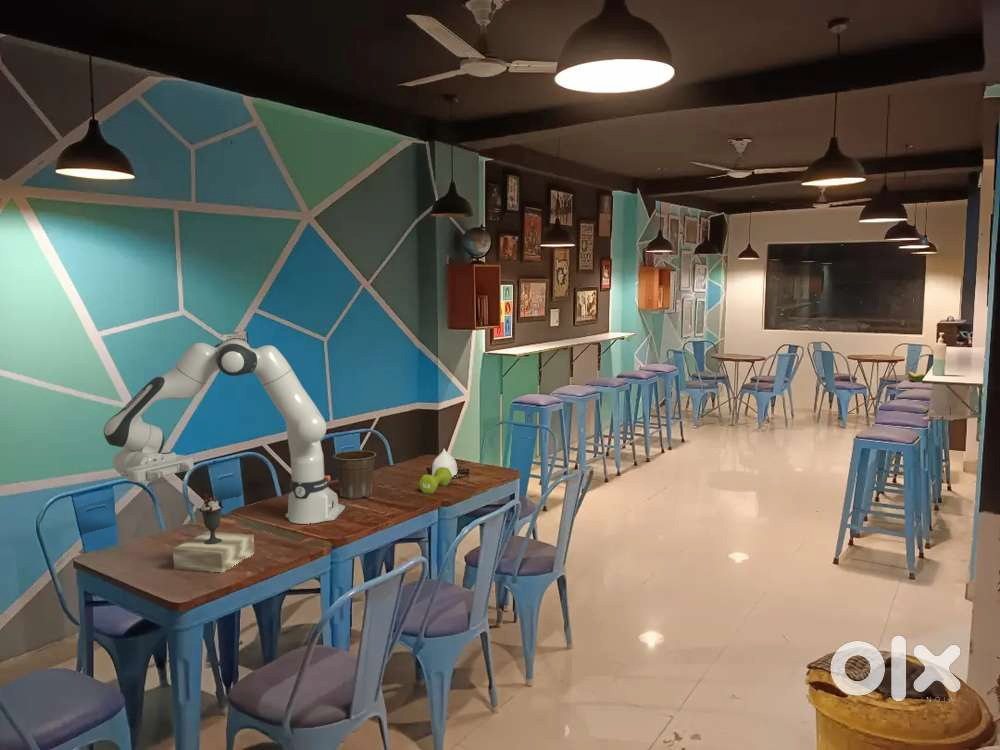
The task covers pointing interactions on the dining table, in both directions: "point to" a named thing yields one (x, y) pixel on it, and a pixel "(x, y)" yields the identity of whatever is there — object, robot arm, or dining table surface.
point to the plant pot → (355, 473)
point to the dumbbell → (435, 480)
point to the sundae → (211, 518)
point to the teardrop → (445, 463)
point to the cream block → (213, 552)
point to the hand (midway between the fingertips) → (175, 471)
